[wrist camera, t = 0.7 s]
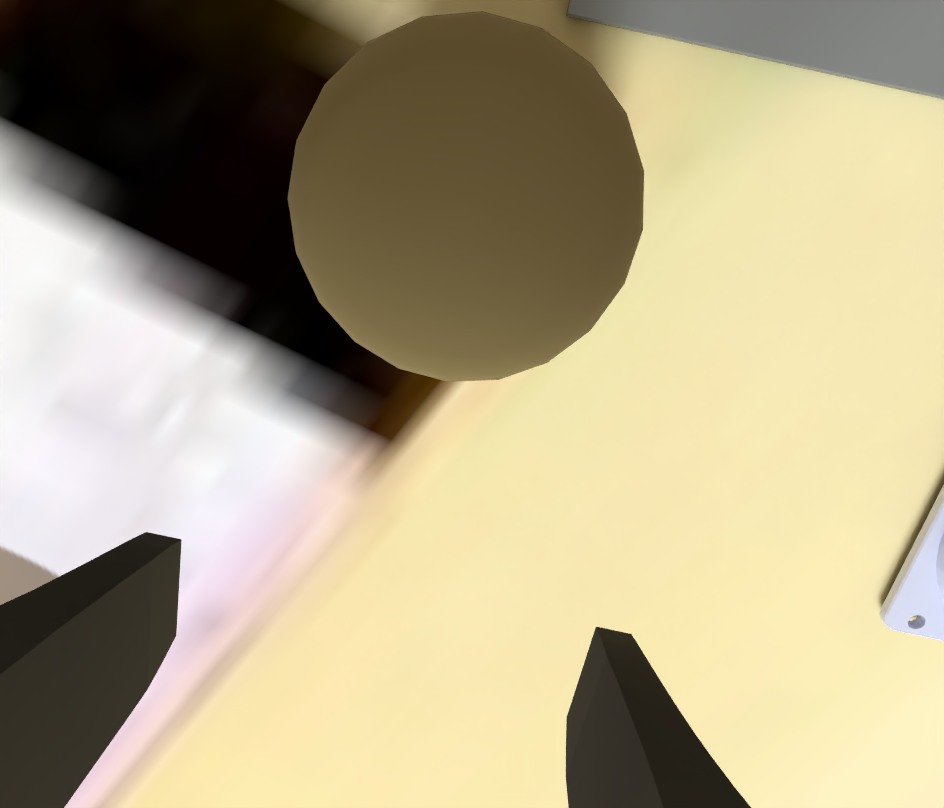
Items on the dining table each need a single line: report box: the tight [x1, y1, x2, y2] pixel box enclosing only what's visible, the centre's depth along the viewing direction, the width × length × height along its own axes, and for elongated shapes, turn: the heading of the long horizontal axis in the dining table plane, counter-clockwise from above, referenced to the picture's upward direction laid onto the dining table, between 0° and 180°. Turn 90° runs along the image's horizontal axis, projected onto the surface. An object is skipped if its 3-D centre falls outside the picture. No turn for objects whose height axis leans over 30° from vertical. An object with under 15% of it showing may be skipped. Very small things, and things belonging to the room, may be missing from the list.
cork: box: [288, 12, 644, 382], centre depth 14 cm, size 6×6×11 cm
